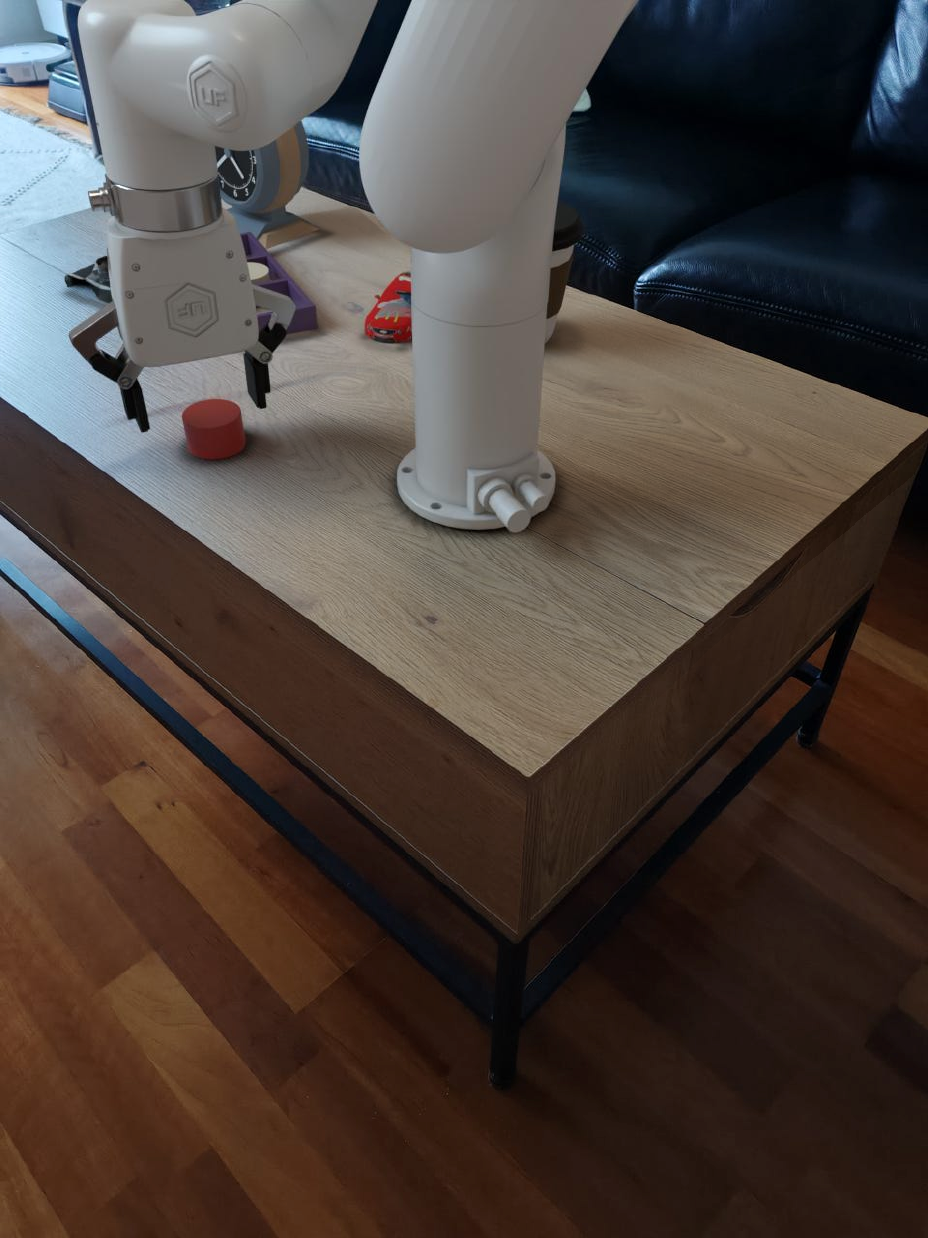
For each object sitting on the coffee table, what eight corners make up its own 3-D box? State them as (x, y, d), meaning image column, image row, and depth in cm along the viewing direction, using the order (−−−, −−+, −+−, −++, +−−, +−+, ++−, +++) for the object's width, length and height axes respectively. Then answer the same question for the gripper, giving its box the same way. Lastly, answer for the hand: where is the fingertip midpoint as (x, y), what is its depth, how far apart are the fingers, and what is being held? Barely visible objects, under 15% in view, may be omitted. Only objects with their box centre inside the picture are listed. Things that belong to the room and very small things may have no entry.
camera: (103, 276, 108) (94, 238, 105) (165, 300, 103) (158, 261, 101) (65, 291, 105) (55, 252, 102) (127, 316, 100) (118, 277, 98)
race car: (407, 354, 95) (406, 315, 92) (357, 345, 96) (354, 306, 93) (453, 299, 104) (453, 263, 101) (406, 292, 105) (405, 255, 103)
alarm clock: (193, 229, 119) (163, 67, 107) (254, 208, 124) (232, 51, 112) (271, 259, 112) (249, 89, 100) (332, 235, 117) (318, 72, 106)
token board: (318, 333, 98) (315, 305, 96) (244, 349, 95) (239, 320, 93) (254, 257, 112) (250, 231, 110) (188, 268, 110) (183, 242, 108)
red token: (253, 451, 81) (248, 419, 79) (196, 465, 80) (189, 433, 78) (236, 424, 84) (231, 393, 82) (182, 437, 83) (175, 405, 81)
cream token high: (276, 286, 102) (274, 275, 101) (231, 294, 100) (229, 283, 99) (262, 270, 105) (260, 259, 104) (218, 277, 103) (217, 266, 102)
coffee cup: (447, 346, 96) (446, 222, 88) (493, 304, 103) (496, 187, 95) (549, 370, 92) (558, 243, 84) (589, 325, 100) (601, 204, 92)
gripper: (48, 234, 63) (102, 457, 75) (301, 203, 69) (315, 413, 81) (30, 196, 68) (84, 410, 80) (268, 170, 74) (286, 373, 86)
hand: (200, 412), depth 80 cm, fingers open, 9 cm apart
